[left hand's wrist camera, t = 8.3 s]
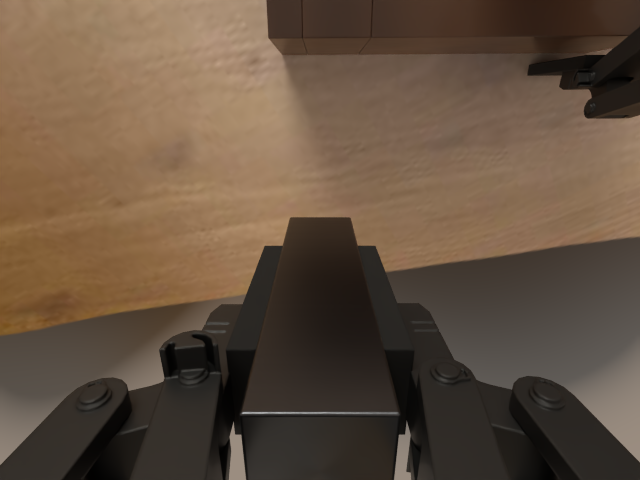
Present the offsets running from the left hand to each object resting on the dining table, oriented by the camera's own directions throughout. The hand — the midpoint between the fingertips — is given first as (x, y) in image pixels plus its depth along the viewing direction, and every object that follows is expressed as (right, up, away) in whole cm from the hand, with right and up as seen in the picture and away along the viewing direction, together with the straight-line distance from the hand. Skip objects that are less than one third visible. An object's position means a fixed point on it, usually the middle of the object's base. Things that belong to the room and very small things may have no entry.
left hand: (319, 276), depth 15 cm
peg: (0, +1, +3) cm, 4 cm away
